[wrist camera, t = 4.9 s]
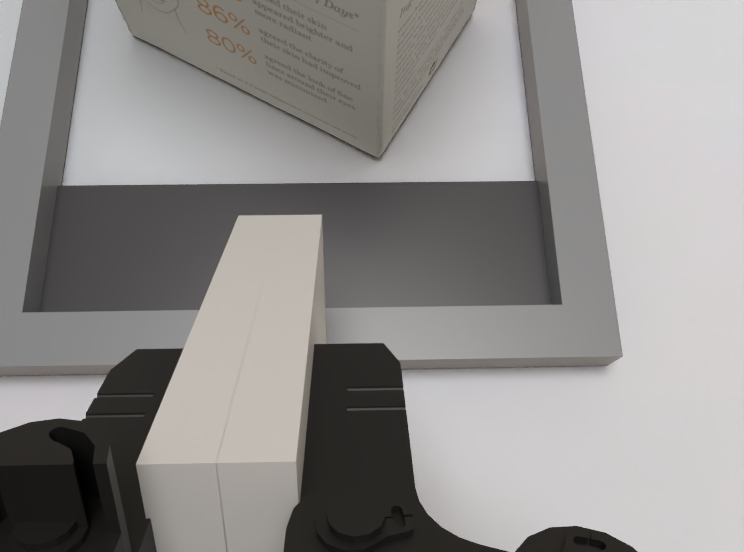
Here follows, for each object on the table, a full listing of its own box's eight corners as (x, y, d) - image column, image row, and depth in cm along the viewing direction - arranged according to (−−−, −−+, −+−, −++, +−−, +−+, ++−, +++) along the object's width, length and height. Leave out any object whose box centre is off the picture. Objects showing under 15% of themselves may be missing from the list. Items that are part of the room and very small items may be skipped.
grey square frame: (-19, 376, 16) (-43, 367, 15) (65, -126, 21) (51, -157, 20) (607, 365, 16) (622, 356, 15) (540, -125, 21) (549, -155, 20)
